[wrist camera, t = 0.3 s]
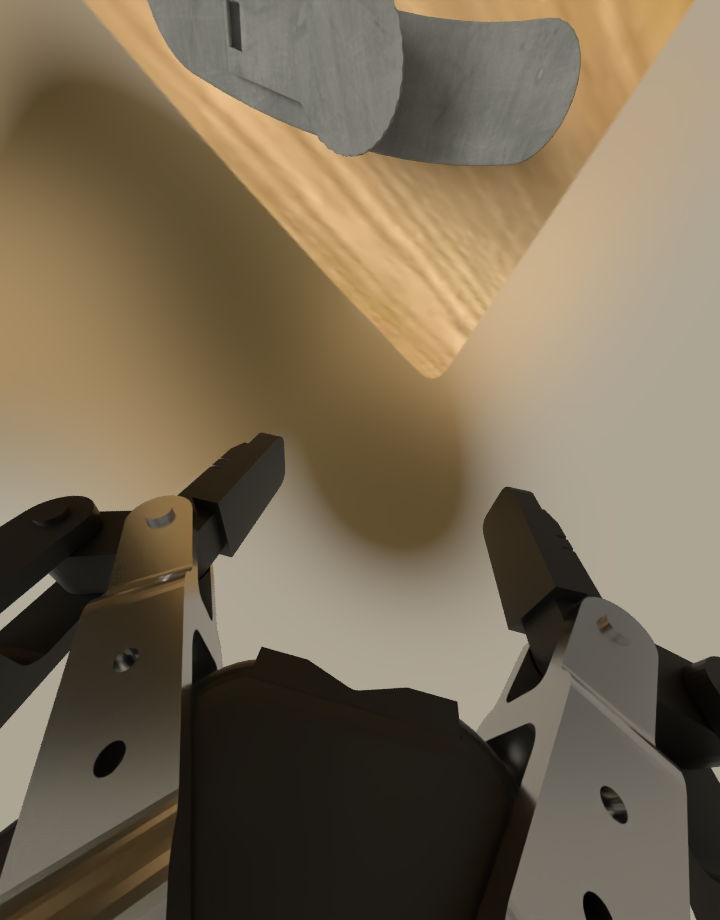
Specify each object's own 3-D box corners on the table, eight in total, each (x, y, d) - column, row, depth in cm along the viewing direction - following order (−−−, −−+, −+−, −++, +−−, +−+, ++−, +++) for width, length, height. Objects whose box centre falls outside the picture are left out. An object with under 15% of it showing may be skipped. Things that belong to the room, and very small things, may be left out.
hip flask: (503, 96, 19) (647, 7, 7) (475, 175, 23) (539, 212, 10) (295, 34, 19) (41, -189, 6) (296, 124, 22) (128, 95, 9)
